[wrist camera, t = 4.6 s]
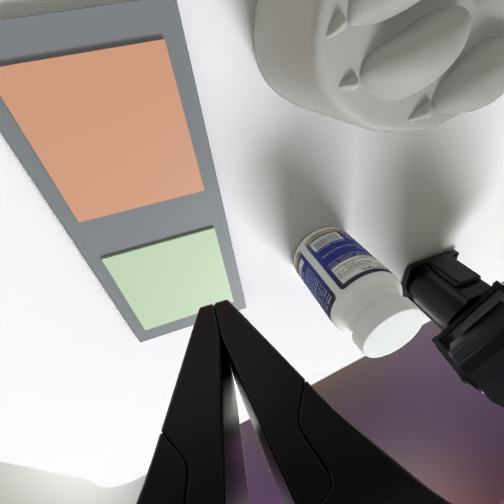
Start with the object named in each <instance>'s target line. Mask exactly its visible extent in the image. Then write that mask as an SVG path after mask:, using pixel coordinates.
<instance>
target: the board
mask: <svg viewBox="0 0 504 504" xmlns="http://www.w3.org/2000/svg"><path fill="white" fill-rule="evenodd" d="M0 132H1V134H2V135H3V137H4V138H5V140H6V141H7V143H8V144H9V146H10V147H11V149H12V150H13V152H14V153H15V155H16V156H17V158H18V159H19V161H20V162H21V164H22V165H23V167H24V168H25V170H26V171H27V173H28V174H29V176H30V177H31V179H32V180H33V182H34V183H35V185H36V186H37V188H38V189H39V191H40V192H41V194H42V195H43V197H44V198H45V200H46V201H47V203H48V204H49V206H50V207H51V209H52V210H53V212H54V213H55V215H56V216H57V218H58V219H59V221H60V222H61V224H62V225H63V227H64V228H65V230H66V231H67V233H68V234H69V236H70V237H71V239H72V240H73V242H74V243H75V245H76V247H77V248H78V250H79V251H80V253H81V254H82V256H83V257H84V259H85V260H86V262H87V263H88V265H89V266H90V268H91V269H92V271H93V272H94V274H95V275H96V277H97V278H98V280H99V281H100V283H101V284H102V286H103V287H104V289H105V290H106V292H107V293H108V295H109V296H110V298H111V299H112V301H113V302H114V304H115V305H116V307H117V308H118V310H119V311H120V313H121V314H122V316H123V317H124V319H125V320H126V322H127V323H128V325H129V326H130V328H131V329H132V331H133V332H134V334H135V335H136V337H137V338H138V340H139V341H140V342H143V341H146V340H149V339H152V338H155V337H158V336H161V335H164V334H167V333H170V332H173V331H176V330H179V329H183V328H186V327H189V326H192V325H194V324H195V320H196V317H197V314H198V311H199V309H200V307H203V306H206V305H210V304H213V305H214V304H215V303H216V302H220V301H223V300H228V301H230V302H231V303H232V304H233V305H234V307H235V308H236V309H237V310H240V309H243V308H246V304H245V300H244V295H243V291H242V287H241V282H240V278H239V273H238V269H237V265H236V260H235V256H234V251H233V247H232V243H231V238H230V234H229V229H228V225H227V221H226V216H225V212H224V207H223V203H222V199H221V194H220V190H219V185H218V181H217V177H216V172H215V168H214V163H213V159H212V155H211V150H210V146H209V141H208V137H207V133H206V128H205V124H204V119H203V115H202V111H201V106H200V102H199V97H198V93H197V88H196V84H195V80H194V75H193V71H192V66H191V62H190V58H189V53H188V49H187V44H186V40H185V36H184V31H183V27H182V22H181V18H180V14H179V9H178V5H177V0H137V1H131V2H124V3H117V4H110V5H103V6H96V7H89V8H82V9H75V10H68V11H61V12H54V13H48V14H41V15H34V16H27V17H20V18H13V19H6V20H0Z"/></svg>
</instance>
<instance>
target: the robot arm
mask: <svg viewBox="0 0 504 504" xmlns="http://www.w3.org/2000/svg"><path fill="white" fill-rule="evenodd" d="M458 255H459V252H457V251H456V250H453V251H450V252H447V253H444V254H441V255H438V256H435V257H432V258H429V259H426V260H423V261H420V262H417V263H414V264H411V265H410V266H409V267H408V268H407V272H406V275H405V279H404V282H403V286H402V296H403V297H407V298H409V299H410V300H411V301H412V302H413V303H414V304H415V305H416V306H417V307H418V308H419V309H420V310H421V311H422V312H423V313H424V314H425V315H426V316H427V317H429V318H430V319H431V320H432V321H433V322H434V323H435V324H436V325H437V326H438V327H439V328H440V329H441V330H442V332H440V333H439V334H438V335H437V336H434V338H432V341H433V342H434V343H435V345H436V347H437V348H438V350H439V351H440V352H441V353H442V355H443V356H444V357H445V359H446V360H447V361H448V362H449V363H450V365H451V366H452V367H453V369H454V370H455V371H456V372H457V374H458V376H459V377H460V379H461V380H462V381H463V382H464V383H465V384H469V385H472V386H473V387H474V388H476V389H477V390H479V391H480V392H482V393H484V394H485V395H486V396H487V397H488V398H489V399H490V400H491V401H492V402H494V403H496V404H498V405H500V406H502V407H504V284H502V283H500V282H498V281H497V280H496V281H495V282H494V283H493V284H492V286H490V285H488V284H487V283H486V282H484V281H483V280H481V279H480V278H481V276H480V275H478V274H477V273H475V272H474V271H472V270H471V269H469V268H468V267H466V266H465V265H463V264H462V263H461V262H459V261H458V260H456V259H457V257H458ZM231 369H232V370H231ZM232 372H233V374H232ZM233 375H234V378H235V381H236V384H237V386H238V389H239V392H240V394H241V397H242V399H243V402H244V404H245V407H246V409H247V412H248V414H249V417H250V419H251V422H252V425H253V427H254V429H255V432H256V435H257V437H258V440H259V442H260V445H261V447H262V450H263V453H264V455H265V458H266V460H267V463H268V465H269V468H270V470H271V473H272V475H273V478H274V481H275V483H276V486H277V488H278V491H279V493H280V496H281V498H282V501H283V503H284V504H452V503H450V502H448V501H447V500H445V499H444V498H443V497H441V496H440V495H438V494H437V493H435V492H434V491H433V490H431V489H430V488H428V487H427V486H426V485H425V484H423V483H422V482H421V481H420V480H418V479H417V478H416V477H414V476H413V475H412V474H411V473H410V472H408V471H407V470H406V469H405V468H404V467H402V466H401V465H400V464H399V463H398V462H396V461H395V460H394V459H393V458H391V457H390V456H389V455H388V454H387V453H385V452H384V451H383V450H382V449H381V448H379V447H378V446H377V445H376V444H374V443H373V442H372V441H371V440H370V439H369V438H367V437H366V436H365V435H364V434H362V433H361V432H360V431H359V430H358V429H357V428H355V427H354V426H353V425H352V424H351V423H350V422H349V421H347V420H346V419H345V418H344V417H343V416H342V415H341V414H339V413H338V412H337V411H336V410H335V409H334V408H333V407H332V406H331V405H330V404H329V403H328V402H327V401H326V400H325V399H324V398H323V397H322V396H321V395H320V394H318V392H317V391H316V390H315V389H314V388H313V387H312V386H311V385H310V384H309V383H308V382H305V379H304V378H303V377H302V376H301V375H300V374H299V373H298V372H297V371H296V370H295V369H294V368H293V367H292V366H291V365H290V364H289V363H288V361H287V360H286V359H285V358H284V357H283V356H282V355H281V354H280V353H279V352H278V351H277V350H276V349H275V348H274V347H273V346H272V345H271V344H270V343H269V342H268V341H267V340H266V339H265V338H264V337H263V336H262V335H261V333H260V332H259V331H258V330H257V329H256V328H255V327H254V326H253V325H252V324H251V323H250V322H249V321H248V320H247V319H246V318H245V317H244V316H243V315H242V314H241V313H240V312H239V311H238V310H237V309H236V308H235V307H234V305H233V304H232V303H231V302H230V301H228V300H223V301H220V302H216V303H215V304H214V305H213V304H210V305H206V306H203V307H200V309H199V311H198V314H197V317H196V320H195V324H194V327H193V330H192V333H191V337H190V340H189V343H188V346H187V349H186V353H185V356H184V359H183V362H182V366H181V369H180V372H179V375H178V378H177V382H176V385H175V388H174V391H173V395H172V398H171V401H170V404H169V407H168V411H167V414H166V417H165V420H164V423H163V427H162V430H161V431H162V433H161V434H160V436H159V439H158V442H157V446H156V449H155V452H154V455H153V458H152V461H151V464H150V467H149V470H148V473H147V476H146V479H145V482H144V485H143V487H142V490H141V492H140V495H139V497H138V500H137V503H136V504H250V502H249V493H248V486H247V478H246V470H245V462H244V455H243V447H242V439H241V432H240V424H239V417H238V409H237V401H236V394H235V386H234V379H233Z"/></svg>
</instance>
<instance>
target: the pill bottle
mask: <svg viewBox="0 0 504 504" xmlns="http://www.w3.org/2000/svg"><path fill="white" fill-rule="evenodd" d="M294 266H295V269H296V271H297V273H298V274H299V276H300V277H301V279H302V280H303V281H304V283H305V284H306V286H307V287H308V289H309V290H310V291H311V293H312V294H313V296H314V297H315V298H316V300H317V301H318V303H319V304H320V305H321V307H322V308H323V310H324V311H325V313H326V314H327V316H328V317H329V318H330V320H331V321H332V322H333V324H334V325H335V326H336V327H337V328H338V329H340V330H341V331H343V332H346V333H351V334H352V338H353V341H354V343H355V344H356V345H357V346H358V347H359V349H360V350H361V351H362V353H363V354H364V355H366V356H368V357H371V358H376V357H381V356H385V355H387V354H390V353H392V352H394V351H396V350H397V349H399V348H401V347H402V346H403V345H405V344H406V343H407V342H408V341H410V340H411V339H412V338H413V337H414V336H415V334H416V333H417V332H418V331H419V329H420V328H421V326H422V323H423V320H424V315H423V312H422V311H421V310H420V309H419V308H418V307H417V306H416V305H415V304H414V303H413V302H412V301H411V300H410V299H409V298H407V297H403V296H402V286H401V283H400V281H399V280H398V278H397V277H396V276H395V275H394V274H393V273H392V272H390V271H389V270H388V269H387V268H386V267H385V266H383V265H382V264H381V263H380V262H379V261H378V260H377V259H376V258H374V257H373V256H372V255H371V254H370V253H369V252H368V251H366V250H365V249H364V248H363V247H362V246H361V245H360V244H359V243H357V242H356V241H355V240H354V239H353V238H352V237H351V236H350V235H348V234H347V233H346V232H345V231H343V230H342V229H339V228H336V227H325V228H321V229H318V230H316V231H314V232H312V233H311V234H309V235H308V236H307V237H306V238H305V239H304V240H303V241H302V242H301V243H300V245H299V246H298V248H297V250H296V252H295V256H294Z"/></svg>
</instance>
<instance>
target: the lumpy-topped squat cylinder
mask: <svg viewBox="0 0 504 504" xmlns="http://www.w3.org/2000/svg"><path fill="white" fill-rule="evenodd" d="M253 45H254V53H255V57H256V61H257V64H258V67H259V70H260V72H261V74H262V76H263V78H264V79H265V81H266V82H267V84H268V85H269V86H270V87H271V88H272V89H273V90H274V91H275V92H276V93H277V94H279V95H280V96H281V97H283V98H284V99H286V100H288V101H289V102H291V103H293V104H295V105H298V106H300V107H303V108H306V109H309V110H312V111H315V112H318V113H320V114H323V115H326V116H329V117H332V118H335V119H338V120H341V121H344V122H346V123H349V124H353V125H356V126H359V127H361V128H365V129H369V130H375V131H387V132H408V131H420V130H425V129H428V128H431V127H433V126H435V125H438V124H440V123H442V122H443V121H446V120H448V119H450V118H452V117H454V116H456V115H459V114H461V113H464V112H469V111H473V110H476V109H479V108H482V107H484V106H486V105H488V104H490V103H492V102H493V101H495V100H496V99H497V98H499V97H500V96H501V95H502V94H503V93H504V0H257V2H256V8H255V16H254V27H253Z"/></svg>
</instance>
